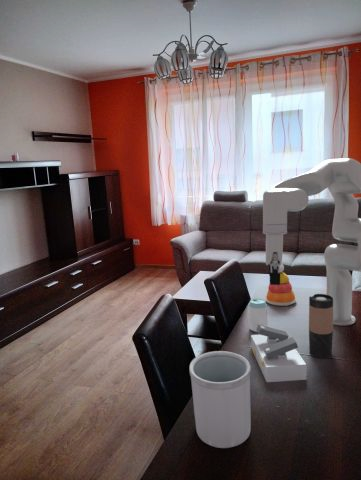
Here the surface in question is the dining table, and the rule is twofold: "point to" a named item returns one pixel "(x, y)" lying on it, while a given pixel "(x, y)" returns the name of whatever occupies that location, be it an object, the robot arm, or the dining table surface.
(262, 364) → the switch housing
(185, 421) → the dining table surface
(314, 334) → the travel mug
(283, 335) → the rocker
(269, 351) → the block
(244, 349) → the dining table surface
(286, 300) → the stacking toy
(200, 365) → the utensil holder
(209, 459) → the dining table surface
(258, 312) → the can
